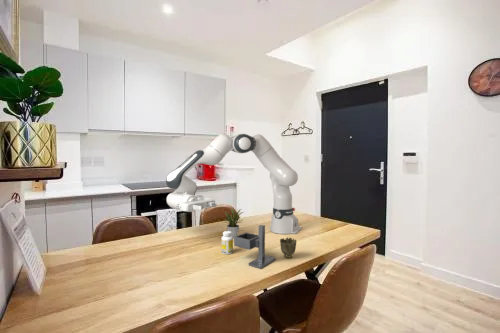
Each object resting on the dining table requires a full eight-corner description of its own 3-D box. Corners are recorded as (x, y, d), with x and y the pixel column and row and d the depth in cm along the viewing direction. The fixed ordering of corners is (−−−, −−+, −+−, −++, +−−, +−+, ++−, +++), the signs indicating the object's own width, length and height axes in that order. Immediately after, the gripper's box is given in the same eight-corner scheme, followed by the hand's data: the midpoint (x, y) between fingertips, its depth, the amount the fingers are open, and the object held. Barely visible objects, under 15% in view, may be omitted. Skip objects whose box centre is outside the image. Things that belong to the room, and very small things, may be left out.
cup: (283, 261, 118) (283, 243, 117) (277, 255, 125) (277, 238, 124) (299, 259, 120) (299, 241, 119) (292, 253, 127) (292, 236, 126)
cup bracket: (247, 252, 128) (248, 219, 127) (275, 259, 119) (275, 224, 118) (231, 260, 118) (231, 224, 118) (260, 269, 109) (260, 230, 109)
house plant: (249, 233, 159) (249, 205, 159) (246, 240, 146) (246, 210, 145) (225, 232, 161) (225, 205, 160) (220, 239, 147) (220, 210, 146)
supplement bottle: (233, 250, 131) (233, 230, 130) (232, 254, 125) (232, 233, 125) (221, 250, 130) (221, 230, 130) (221, 254, 125) (221, 233, 125)
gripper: (174, 199, 133) (193, 203, 125) (203, 195, 150) (222, 197, 142) (173, 212, 134) (193, 216, 126) (203, 206, 150) (222, 209, 142)
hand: (209, 206), depth 134 cm, fingers open, 8 cm apart
